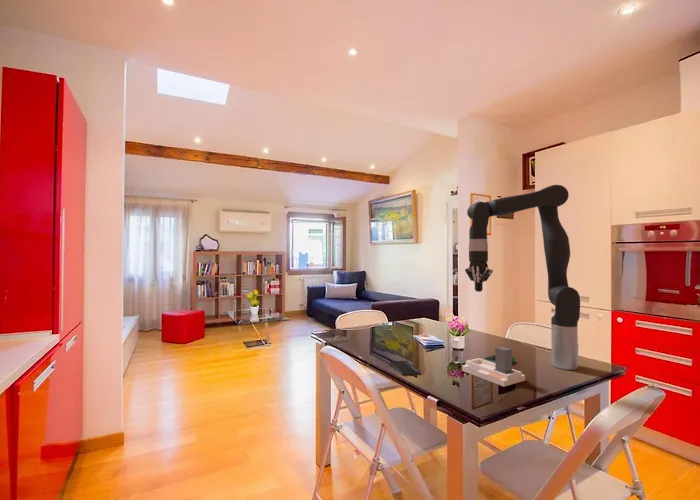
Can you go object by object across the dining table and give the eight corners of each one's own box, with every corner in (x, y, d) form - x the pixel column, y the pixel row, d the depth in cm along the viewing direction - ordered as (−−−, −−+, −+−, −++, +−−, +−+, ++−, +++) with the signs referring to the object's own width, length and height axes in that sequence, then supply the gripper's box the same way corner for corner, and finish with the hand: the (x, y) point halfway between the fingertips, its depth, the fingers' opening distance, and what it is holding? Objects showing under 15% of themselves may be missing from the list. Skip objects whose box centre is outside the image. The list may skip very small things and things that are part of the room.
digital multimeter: (515, 362, 147) (515, 356, 147) (497, 369, 138) (497, 362, 138) (498, 358, 153) (498, 352, 153) (480, 365, 144) (480, 358, 144)
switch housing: (482, 365, 142) (482, 357, 142) (525, 380, 125) (525, 371, 125) (461, 370, 136) (461, 361, 136) (503, 386, 120) (503, 376, 120)
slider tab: (502, 370, 130) (502, 346, 130) (514, 374, 125) (513, 349, 125) (493, 372, 127) (493, 347, 127) (505, 376, 123) (505, 351, 123)
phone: (404, 360, 147) (421, 372, 132) (404, 363, 147) (421, 375, 132) (387, 362, 145) (402, 373, 130) (387, 364, 145) (402, 376, 130)
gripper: (497, 250, 139) (498, 292, 139) (472, 250, 151) (472, 289, 150) (485, 249, 135) (485, 293, 135) (459, 250, 147) (460, 290, 147)
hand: (478, 291), depth 143 cm, fingers closed
